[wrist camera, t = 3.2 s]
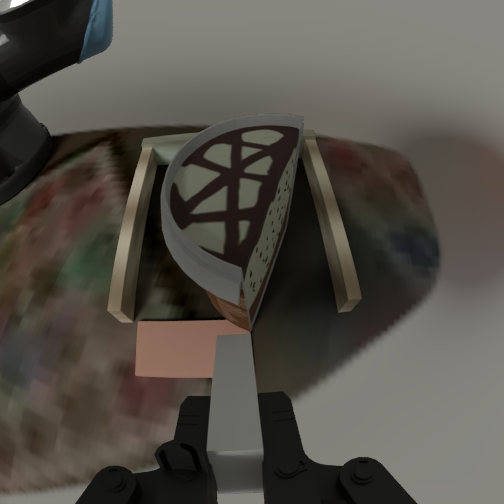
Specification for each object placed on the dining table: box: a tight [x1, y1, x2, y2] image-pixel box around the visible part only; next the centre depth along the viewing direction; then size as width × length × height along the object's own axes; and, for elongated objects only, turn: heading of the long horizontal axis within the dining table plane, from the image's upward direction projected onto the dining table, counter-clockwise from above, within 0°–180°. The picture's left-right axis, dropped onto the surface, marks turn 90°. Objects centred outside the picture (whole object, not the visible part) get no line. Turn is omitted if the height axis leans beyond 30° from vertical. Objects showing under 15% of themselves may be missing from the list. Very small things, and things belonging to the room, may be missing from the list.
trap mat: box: [135, 320, 250, 378], centre depth 19 cm, size 4×8×1 cm, turn 94°
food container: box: [161, 113, 304, 332], centre depth 18 cm, size 12×6×10 cm, turn 161°
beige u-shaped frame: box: [107, 130, 362, 322], centre depth 23 cm, size 18×17×3 cm
